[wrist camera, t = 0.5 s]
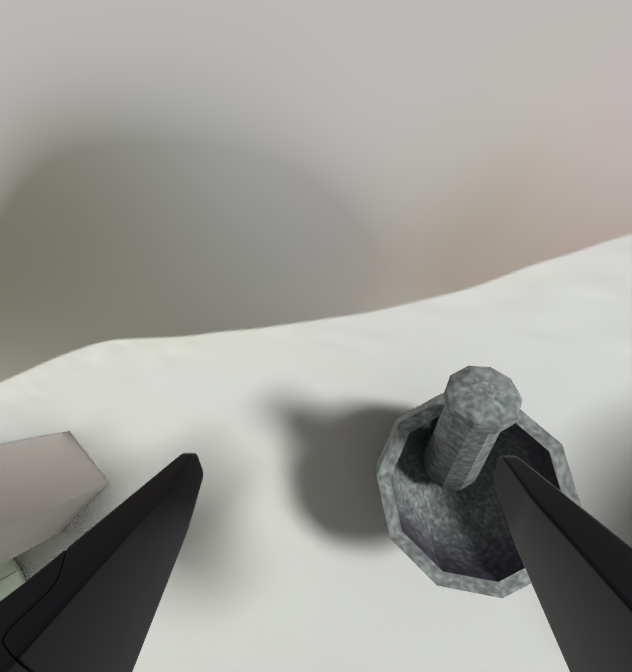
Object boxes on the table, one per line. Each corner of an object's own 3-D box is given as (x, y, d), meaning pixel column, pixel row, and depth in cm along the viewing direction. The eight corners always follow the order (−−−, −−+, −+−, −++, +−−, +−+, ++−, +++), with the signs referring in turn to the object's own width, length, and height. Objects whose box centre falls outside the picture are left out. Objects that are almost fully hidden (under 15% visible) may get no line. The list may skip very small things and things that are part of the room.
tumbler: (108, 483, 25) (-35, 544, 16) (59, 533, 25) (-115, 625, 16) (69, 431, 26) (-88, 460, 17) (21, 479, 26) (-164, 536, 17)
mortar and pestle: (525, 519, 22) (735, 691, 10) (389, 540, 22) (430, 722, 11) (480, 358, 23) (613, 339, 11) (356, 383, 24) (359, 388, 12)
